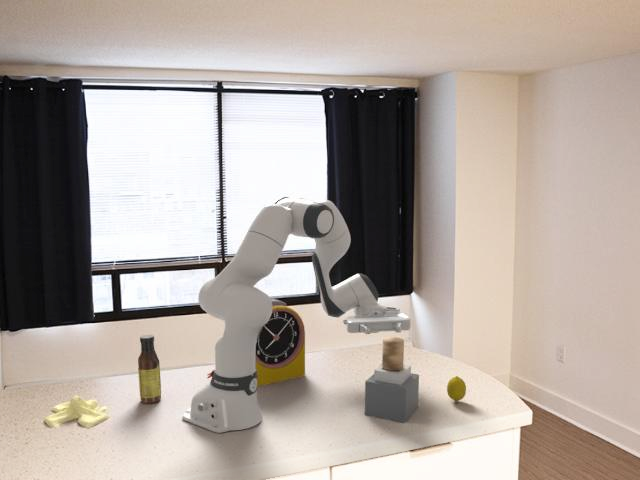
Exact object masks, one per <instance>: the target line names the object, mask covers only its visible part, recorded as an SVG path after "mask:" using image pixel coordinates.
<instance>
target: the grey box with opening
mask: <svg viewBox="0 0 640 480" xmlns="http://www.w3.org/2000/svg"><path fill="white" fill-rule="evenodd" d="M364 386H365V387H364V390H365V391H364V415H365V416H369V417H374V418H378V419H381V420H389V421H393V422H399V423H403V424H406V423H407V422H408V420H409V419H410V418H411V417H412V415H413V414H414V413H415V412H416V410H418V408H419V396H420V395H419V393H420V392H419V388H420V374H418V373H417V374H416V373H412V365H408V364H403V369H402V370H400V371H399V372H394V371H388V370H385V369H383V367H382V363H381V364H380V365H378V366H377V367H376V368H375V369H374V371H373V374H372V375H371V376H370V377H369V378H368V379H366V380H365V384H364Z"/></svg>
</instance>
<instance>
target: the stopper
mask: <svg viewBox="0 0 640 480" xmlns="http://www.w3.org/2000/svg"><path fill="white" fill-rule="evenodd" d="M404 348H405V340H404V338H401V337H396V336H388V337H384V338H383V339H382V363H381V364H382V367H383V369H385V370H388V371H394V372H399V371H400V370H402V369H403V365H404V358H405V356H404V355H405V353H404V352H405V349H404Z"/></svg>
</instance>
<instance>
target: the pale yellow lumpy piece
mask: <svg viewBox="0 0 640 480" xmlns="http://www.w3.org/2000/svg"><path fill="white" fill-rule="evenodd" d="M107 409H108V406H107V405H104V406H102V407H100V405H99V404H98V401H97V400H96V399H88V400H84V398H82V397H81V396H79V395H77V394H75V395H74V396H73V397H72V398H71V399H70V401H67V402H66V401H65V402H61V403H60V404H57V405H54V406H53V407H52V408H51V409H50V411H53V412H54V413H52V414H49V415H47V416H46V417H45V418H44V419H43V421H44V423H46V424H47V426H48V427H50V428H52V429H53V428H58V427H59V426H60V425H61V424H64V423H66V422H70V421H72V420H74V419H78V420H77V423H79V425H80V426H82V427H83V428H85V429H91V428H93V427H95V426H96V425H98V424H100V423H101V422H104V421H106V420H108V419H110V417H111V416H112V415H110V414H106V413H104V412H106V411H107Z"/></svg>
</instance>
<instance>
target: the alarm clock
mask: <svg viewBox="0 0 640 480" xmlns="http://www.w3.org/2000/svg"><path fill="white" fill-rule="evenodd" d="M270 299H271V301H272V306H273V309H272V314H271V317H270V319H269V320H268V322H267V323H266V324H265V325H263V326H262V327H261V329H260V331H259V334H258V337H257V341H256V369H257V387H261V386H264V385H265V386H266V385H269V384H274V383H279V382H283V381H287V379H288V380H291V378H292V379H296V378H300V376H301V377H304V375H306V331H305V330H306V329H305V325H304V322H303V319H302V317H301V316H300V315H299V314H298V312H297V311H296V310H294V309H292V308H291V307H288V306H287V303H286V302H284V301H281V300H279V299H274V298H270ZM295 377H296V378H295Z"/></svg>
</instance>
